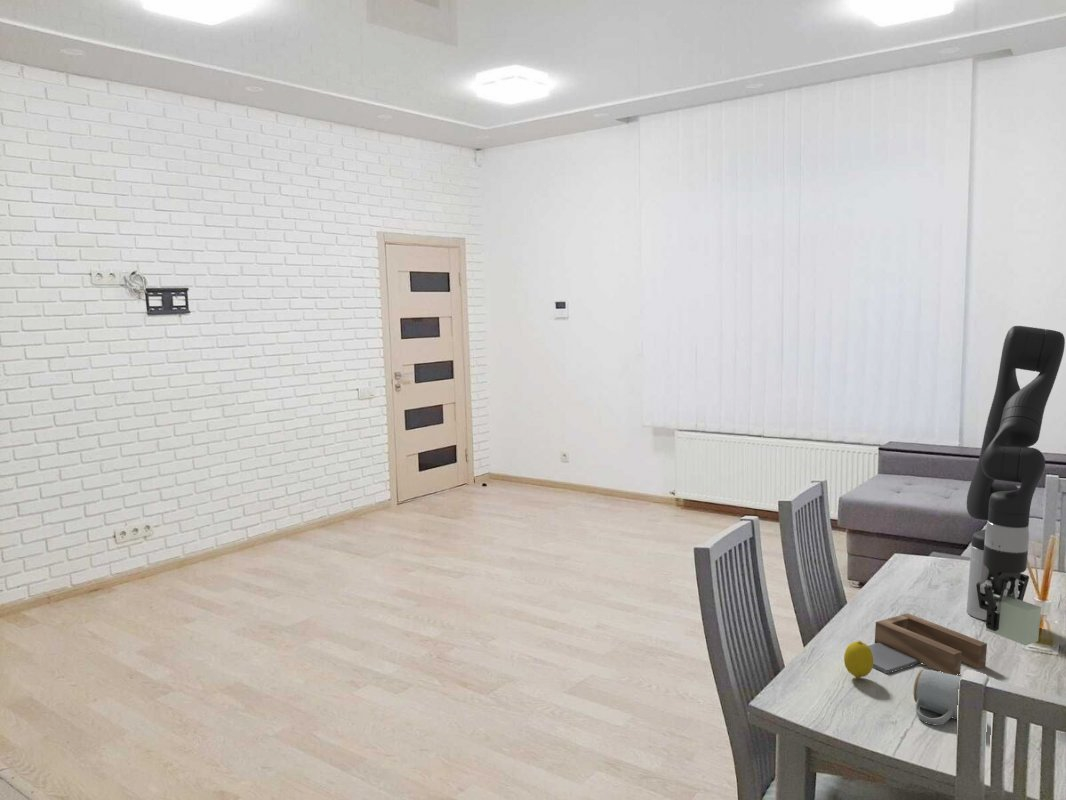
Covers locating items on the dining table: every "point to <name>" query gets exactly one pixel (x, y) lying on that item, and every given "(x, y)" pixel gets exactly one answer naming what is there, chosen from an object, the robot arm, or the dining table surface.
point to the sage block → (1018, 621)
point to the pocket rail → (930, 643)
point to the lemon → (858, 659)
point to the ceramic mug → (936, 695)
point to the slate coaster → (889, 658)
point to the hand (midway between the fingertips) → (999, 626)
